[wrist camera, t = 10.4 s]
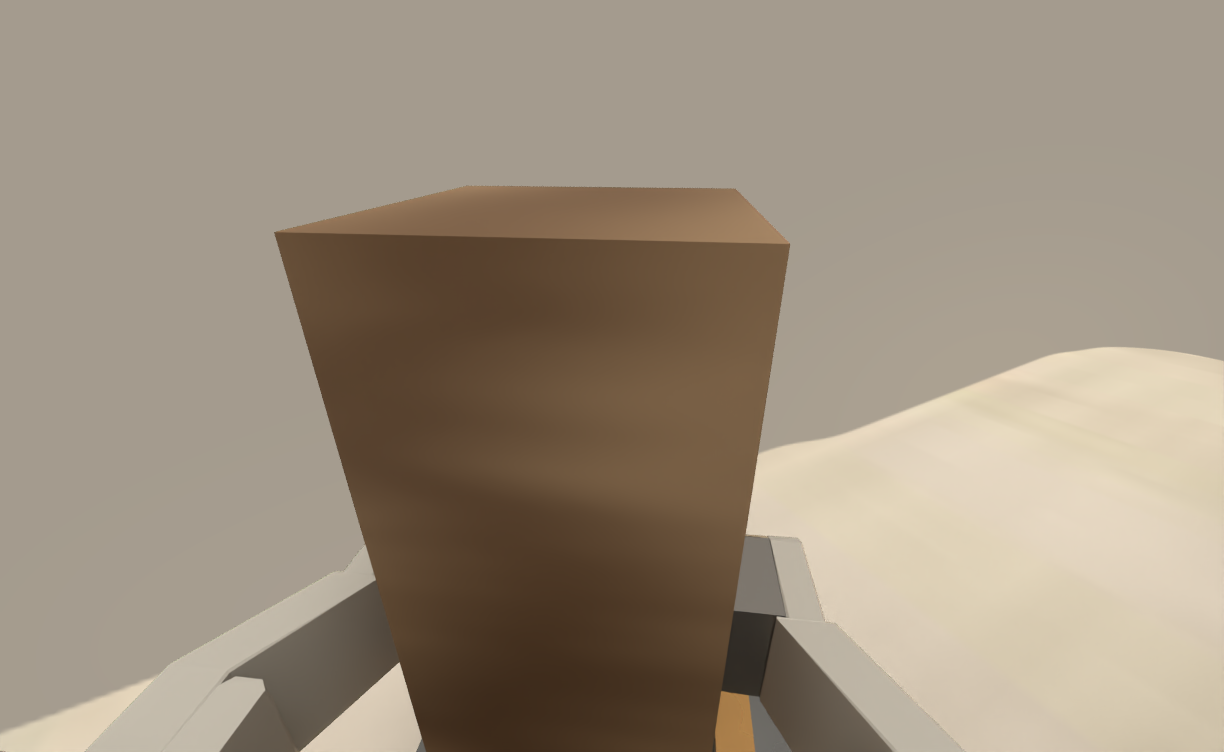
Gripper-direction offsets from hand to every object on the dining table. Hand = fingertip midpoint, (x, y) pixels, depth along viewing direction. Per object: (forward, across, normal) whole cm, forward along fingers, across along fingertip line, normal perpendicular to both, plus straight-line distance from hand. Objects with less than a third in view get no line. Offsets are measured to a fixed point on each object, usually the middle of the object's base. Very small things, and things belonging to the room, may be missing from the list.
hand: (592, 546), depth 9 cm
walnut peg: (-1, 0, +8) cm, 8 cm away
